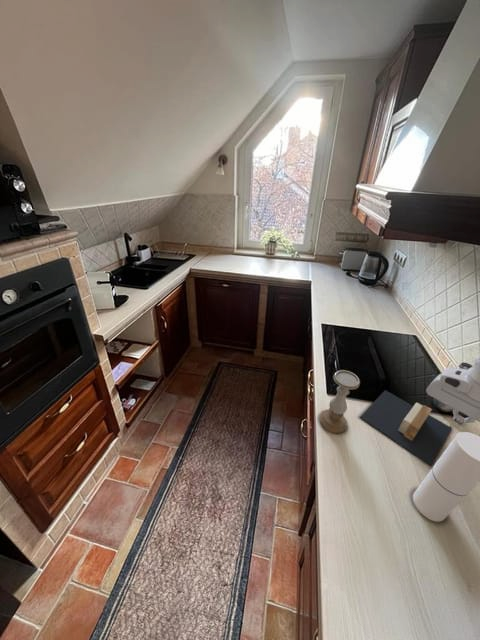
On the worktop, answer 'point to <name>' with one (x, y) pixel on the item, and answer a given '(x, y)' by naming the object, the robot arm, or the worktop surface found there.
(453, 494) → the cylindrical container
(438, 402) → the plastic bottle
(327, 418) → the candle holder
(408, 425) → the wooden block
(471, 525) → the worktop surface
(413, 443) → the mat
